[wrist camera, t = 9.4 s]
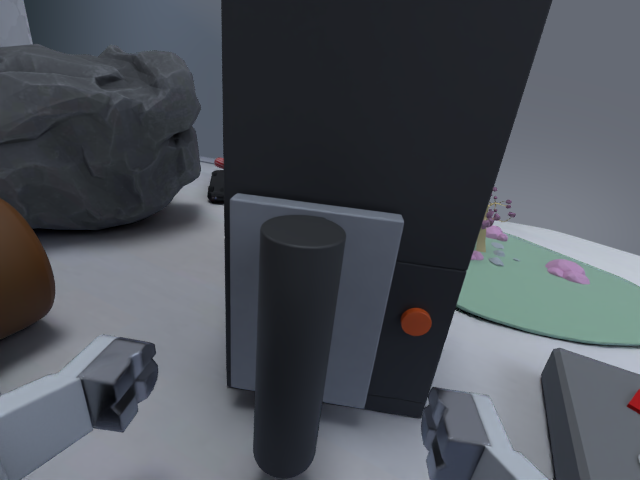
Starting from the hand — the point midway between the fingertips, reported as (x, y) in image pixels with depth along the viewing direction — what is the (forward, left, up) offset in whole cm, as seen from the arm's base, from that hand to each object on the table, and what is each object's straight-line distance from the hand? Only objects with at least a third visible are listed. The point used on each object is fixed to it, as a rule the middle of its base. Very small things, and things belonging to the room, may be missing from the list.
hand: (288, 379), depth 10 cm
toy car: (-15, +34, -4) cm, 37 cm away
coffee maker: (+1, +10, -6) cm, 12 cm away
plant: (+17, +23, -6) cm, 29 cm away
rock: (-23, +21, -6) cm, 32 cm away
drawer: (0, +7, -5) cm, 8 cm away
